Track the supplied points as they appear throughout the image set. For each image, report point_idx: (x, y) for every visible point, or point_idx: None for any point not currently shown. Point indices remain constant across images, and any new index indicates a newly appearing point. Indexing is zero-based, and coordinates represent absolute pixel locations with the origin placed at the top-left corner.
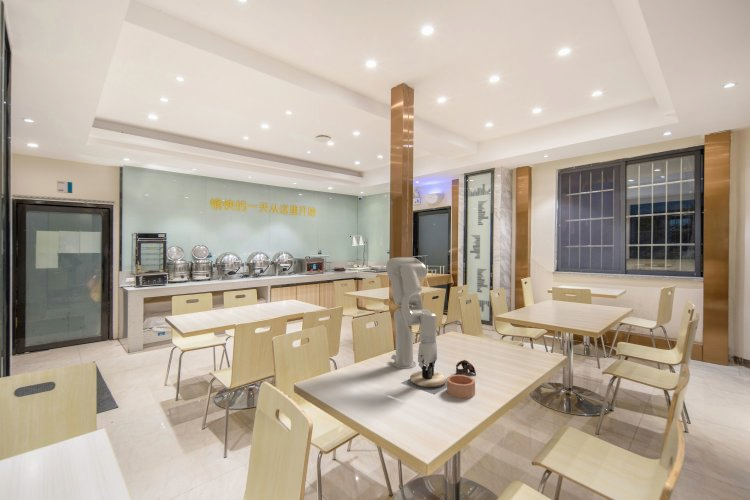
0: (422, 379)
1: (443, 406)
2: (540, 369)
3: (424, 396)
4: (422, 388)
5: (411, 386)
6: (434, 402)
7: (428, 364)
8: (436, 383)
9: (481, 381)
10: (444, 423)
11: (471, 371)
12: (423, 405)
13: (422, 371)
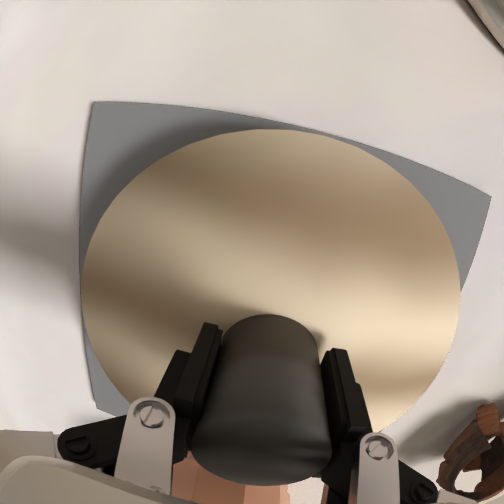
0: (183, 322)
1: (56, 431)
2: (497, 494)
3: (51, 357)
4: None
5: (80, 234)
6: (49, 403)
7: (359, 455)
8: None
9: None
10: (3, 422)
11: (498, 439)
12: (3, 365)
13: (183, 373)
